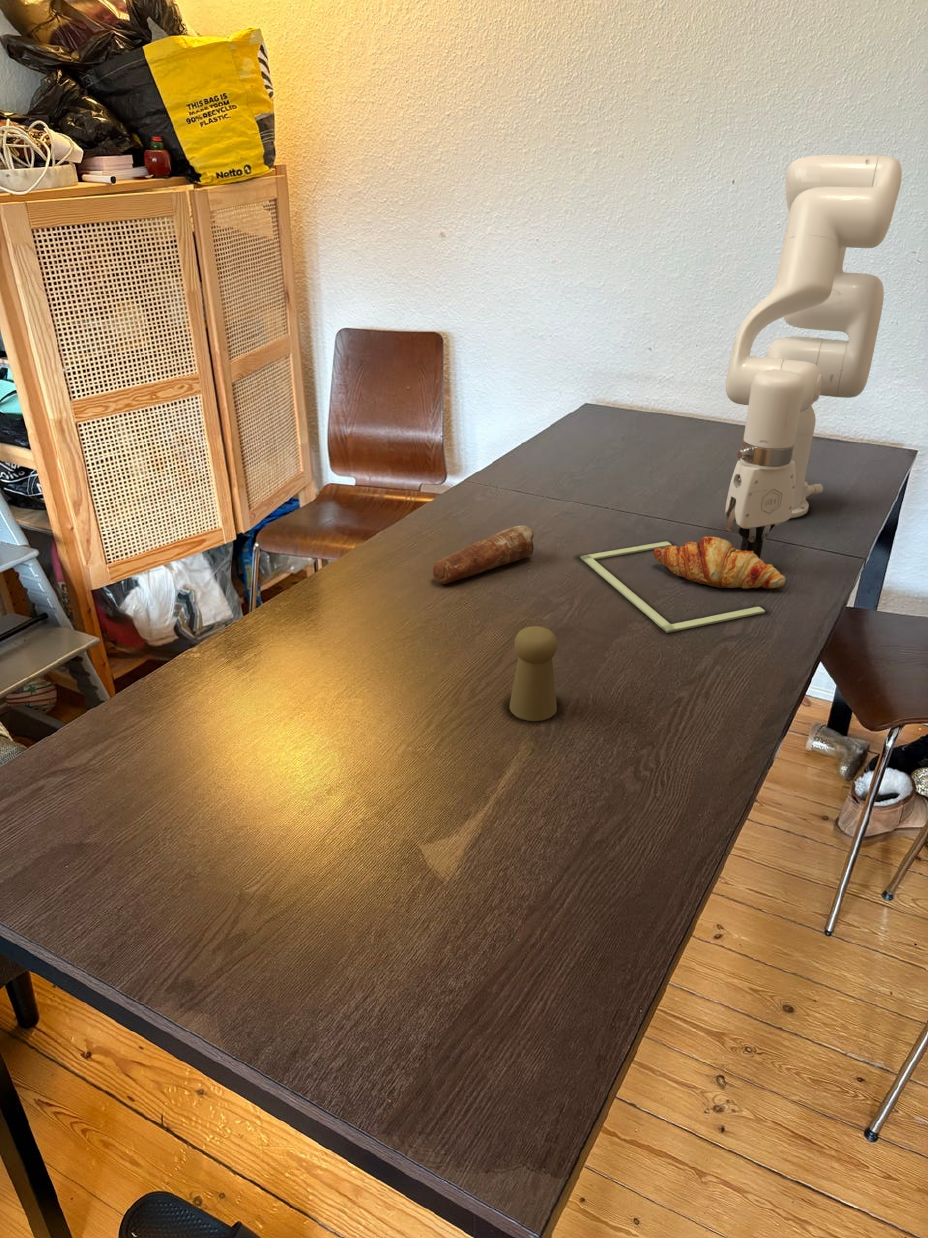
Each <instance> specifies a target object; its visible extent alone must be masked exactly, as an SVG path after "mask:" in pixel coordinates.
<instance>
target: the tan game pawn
mask: <svg viewBox="0 0 928 1238" xmlns="http://www.w3.org/2000/svg"><path fill="white" fill-rule="evenodd" d="M557 650H558V640H557V637H556V635H555V634H554V632H553V631H552V630H551V629H549V628H547V627H543V626H537V625H532V626H528V627H524V628H522V629H521V630H519V631H518V632H517V634H516V636H515V637H514V651H515V653H516V655H517V656H518V657H517V663H516V666H515V667H516V668H515V672H514V679H513V685H512V689H511V694H510V700H509V707H508V708H509V710H510V713H511V714H513V716H515V717H516V718H518V719H520V720H523V721H528V722H539V721H545V720H548V719H550V718H552V717H553V716H555V714H556V713H557V711H558V706H557V705H558V704H557V695H556V684H555V675H554V663H553V657H555V655H556V653H557Z"/></svg>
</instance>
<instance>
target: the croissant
mask: <svg viewBox="0 0 928 1238" xmlns="http://www.w3.org/2000/svg"><path fill="white" fill-rule="evenodd" d="M653 557H654V559H655V560H656V561H657V562H658V563H660V564H662V565H663V566H664V567H666V568H667V569H668V570H669V571H670V572H671V573H672V574H674V575H676V576H677V577H682V578H684V579H686V580H689V581H691V582H693V583H697V584H699V585H706V586H710V587H713V588H720V589H722V588H723V589H736V588H742V589H743V590H744V589H752V588H754V589H758V588H763V589H767V590H768V589H776V588H780V587H783V586H784V585H785V583H786V580H787V579H786V577H785V576H784V575H783V574H781V572H780V571H779V570H778V569H777V568H776V567H775V565H773V564H771V563H765V562H764V561H763V560H762V559H761V558H760V559H759V557H758V556H757V555H756V554H754V551H746V550H745V551H742V550H741V549H737V548H736V547H735V546H734V544H733V543H732V542H730V541H729V540H727V539H725V538H720V537H718V536H717V537H716V536H707V535H705V536H703V537H702V538H701V539H700V540H699V541H698V542H695V541H686V542H685V543H684V544H683V545H681V546H677V545H672V546H667V547H665V548H655V549H653Z"/></svg>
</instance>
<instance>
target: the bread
mask: <svg viewBox="0 0 928 1238" xmlns="http://www.w3.org/2000/svg"><path fill="white" fill-rule="evenodd" d="M533 539H534V530H533V529H532V528H530V527H528V526H527V525H524V524H521V525H516V526H511V527H509V528H507V529H504V530H502V531H500V532H497V533H494V534H493V535H491V536H488V537H486V538H484V539H481V540H478V541H477V542H474V543H473V544H470V545H469V546H466V547H465V548H462V549H459V550H458V551H456V552H454V553H452V554H450V555H448V556H445V557H443V558H442V559H440V560H438V561H435V563H434V564H433V566H432V576H433V579H434V580H435V581H436V582H437V583H439V584H442V585H447V584H450V583H453V582H456V581H459V580H462V579H466V578H470V577H473V576H475V575H478V574H481V573H484V572H487V571H489V570H492V569H495V568H498V567H501V566H504V565H508V564H510V563H514V562H517V561H521V560H522V559H524V558H527V557H529V556H531V555H533V552H534V549H535V547H534V542H533Z"/></svg>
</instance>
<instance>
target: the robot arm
mask: <svg viewBox="0 0 928 1238" xmlns="http://www.w3.org/2000/svg"><path fill="white" fill-rule="evenodd" d="M902 179H903V173H902V165H901V162H899V159H897V158H896V157H894V156H892V155H891V156H890V155H878V154H877V155H876V154H875V155H874V154H873V155H870V154H869V155H867V154H865V155H864V154H862V155H861V154H860V155H859V154H815V155H814V154H813V155H807V156H802V157H800V158H797V159H795V160H794V161H792V162H791V163H790V165H789V166H788V169H787V171H786V175H785V182H784V188H785V190H784V192H785V201H786V205H787V211H788V218H787V224H786V228H785V233H784V238H783V242H782V249H781V253H780V259H779V263H778V268H777V272H776V278H775V283H774V286H773V289H772V290H771V292H770V293H769V294H768V295H767V296H765V298H763V299H762V300H761V301H760V302H759V303H757V304H756V305H755V306H754V307H753V308H752V309H751V310H750V312H749V313H748V314H747V316H746V317H744V319H743V321H742V322H741V324H740V326H739V328H738V330H737V332H736V335H735V337H734V340H733V344H732V350H731V353H730V357H729V359H730V360H729V363H728V368H727V373H726V380H725V392H726V396H727V398H728V399H729V400H730V401H731V402H732V403H734V404H737V405H743V406H748V407H747V413H746V419H745V427H744V432H743V440H742V446H741V449H738V450H736V457H737V458H738V459H739V460H737V461H736V465H735V467H734V469H733V470H734V471H733V472H732V476H731V479H730V484H729V488H728V491H727V497H726V502H725V511H724V514H725V519H727V521H726V524H725V527H724V529H725V530H726V531H728V532H729V533H731V534H738V535H739V536H740V537H741V544H740V550H742V551H745V550H746V551H754V554H756V555H757V556H758V557H759V559H760V560H761V558H762V557H761V556H762V551H763V543H764V541H765V540H767V539H768V537H769V534H770V532H771V531H772V530H773V529H774V528H775V527H777V526H779V525H782V524H784V523H785V522H787V521H789V520H790V519H794V518H800V517H802V516H804V515H805V514H807V513H808V511H809V506H810V505H809V502H808V501H807V498H808V497H810V495H812V496H814V495H819V494H822V493H823V491H824V486H823V484H821V483H814V484H810V485H809V482H808V481H806V477H807V471H808V464H809V459H810V455H811V450H812V444H813V440H814V439H813V438H814V434H815V428H816V421H817V420H816V419H817V418H816V413H815V411H814V410H815V409H814V408H813V404H815V402H817V401H818V400H819V398H820V396H821V397H832V398H845V399H852V398H856V397H857V396H859V395H861V394H862V392H863V391H864V390H865V388H866V385H867V383H868V379H869V376H870V371H871V367H872V363H873V357H874V353H875V349H876V342H877V336H878V332H879V328H880V322H881V318H882V311H883V305H884V299H885V298H884V295H885V290H884V285H883V282H882V280H881V279H880V278H879V277H878V276H877V275H874V274H869V273H863V272H862V273H861V272H860V273H859V272H845V271H844V269H843V267H844V261H845V256H846V251H847V248H848V249H849V248H851V249H853V248H854V249H875V248H876V247H878V246H880V245H881V244H882V242H883V241H884V240H885V238H886V236H887V234H888V232H889V228H890V226H891V223H892V219H893V215H894V212H895V207H896V203H897V200H898V196H899V193H900V189H901V185H902ZM782 318H783V320H784V322H785V323H786V324H787V325H789V326H791V327H793V328H798V329H803V330H804V329H805V330H815V331H830V332H841V333H844V334H846V335H847V338H848V340H843V339H831V338H822V337H810V336H785V337H781V338H778V339H776V340H775V341H773V342H772V343H771V344H770V345H769V346H768V348H767V349H766V350H767V351H766V353H765V355H764V356H765V357H764V356H753V355H751V352H752V348H753V345H754V342H755V340H756V338H757V336H758V335H759V334H760V333H761V332H762V330H763V329H765V328H767V327H768V326H769V325H770V324H772V323H774V322H775V321H778V320H779V319H782Z"/></svg>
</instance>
